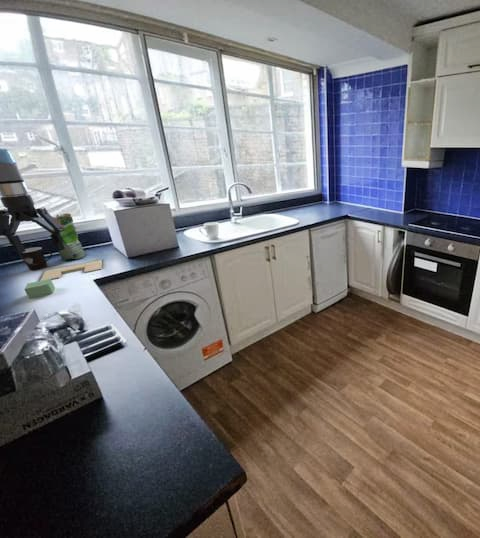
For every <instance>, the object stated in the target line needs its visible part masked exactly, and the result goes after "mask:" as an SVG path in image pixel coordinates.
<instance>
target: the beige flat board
mask: <svg viewBox="0 0 480 538" xmlns="http://www.w3.org/2000/svg"><path fill="white" fill-rule="evenodd" d="M82 269H83V273H84V274H89V273H93V272H97V271H102V269H103V261H102V259H100V260H94V261H89V262H83V263H79V264H78V263H77V264H74V265H68V266H63V267H58V268H57V267H56V268H53V269H48V270H44V272H43V273H42V276H41V277H40V279H39V281H42V280H47V279H51V281H54V280H60V279H61V278H62V275H63V274H68V273H72V271H73V272H77V270H78V271H82Z"/></svg>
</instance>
